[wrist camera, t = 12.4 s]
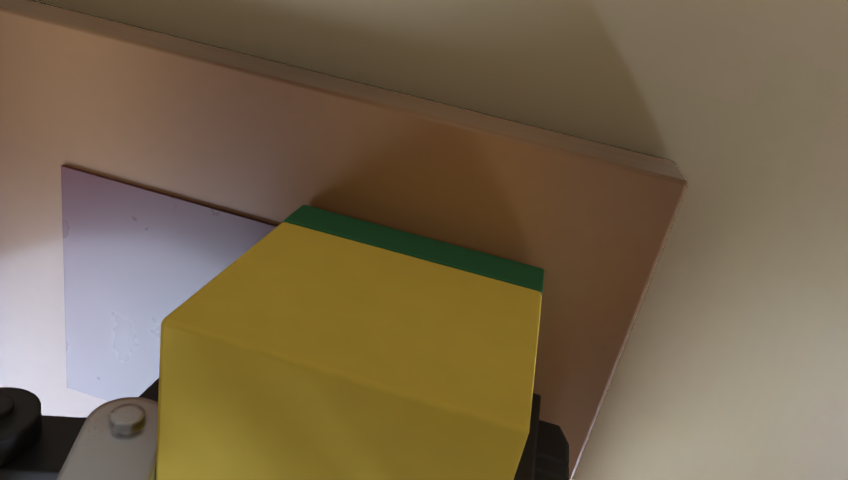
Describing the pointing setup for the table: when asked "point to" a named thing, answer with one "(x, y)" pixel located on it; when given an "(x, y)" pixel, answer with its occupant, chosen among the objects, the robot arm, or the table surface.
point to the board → (280, 201)
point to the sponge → (350, 360)
